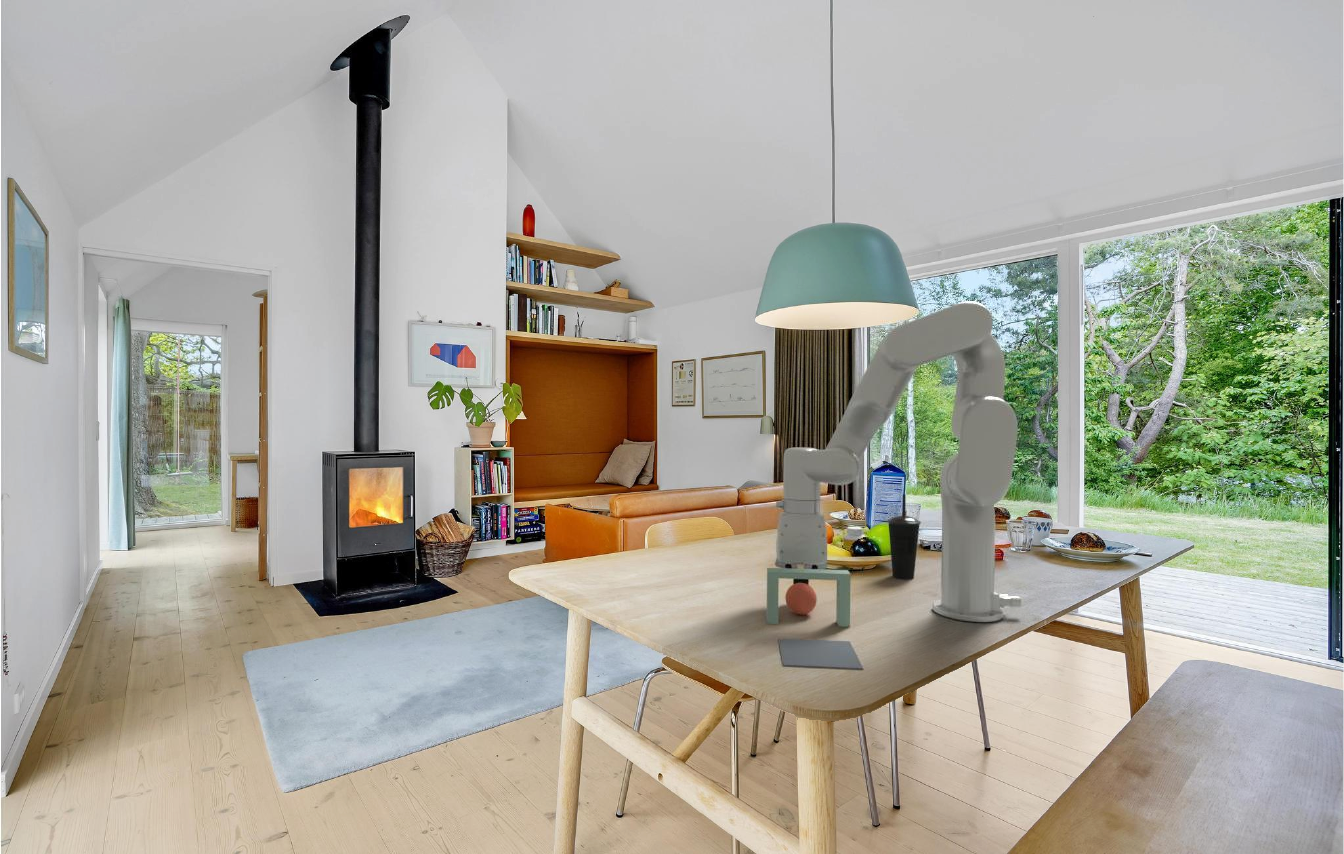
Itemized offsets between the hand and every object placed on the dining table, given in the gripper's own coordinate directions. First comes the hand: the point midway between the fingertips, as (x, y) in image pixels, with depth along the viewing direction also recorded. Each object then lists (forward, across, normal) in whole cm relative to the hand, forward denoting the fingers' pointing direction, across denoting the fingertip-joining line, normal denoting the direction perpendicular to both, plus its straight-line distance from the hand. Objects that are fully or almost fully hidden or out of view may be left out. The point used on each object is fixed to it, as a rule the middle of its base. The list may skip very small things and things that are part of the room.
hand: (800, 595), depth 133 cm
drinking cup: (+2, +27, +26) cm, 37 cm away
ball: (-2, -1, -8) cm, 8 cm away
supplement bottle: (+2, +17, +35) cm, 39 cm away
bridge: (+2, 0, -13) cm, 13 cm away
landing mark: (+2, 0, -29) cm, 29 cm away
